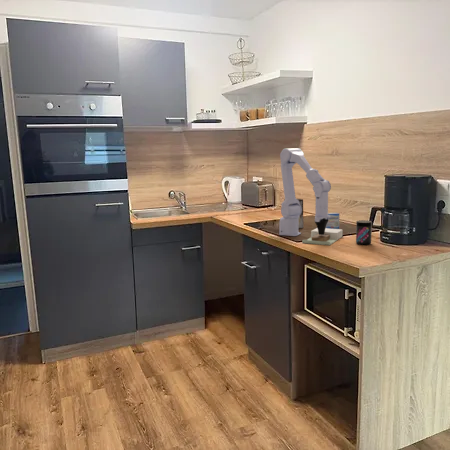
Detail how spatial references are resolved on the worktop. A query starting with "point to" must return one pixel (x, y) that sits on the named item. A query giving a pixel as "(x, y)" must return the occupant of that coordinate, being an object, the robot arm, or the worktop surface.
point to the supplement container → (363, 232)
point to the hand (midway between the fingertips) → (321, 234)
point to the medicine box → (333, 221)
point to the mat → (328, 242)
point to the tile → (321, 237)
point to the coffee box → (301, 213)
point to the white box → (329, 233)
